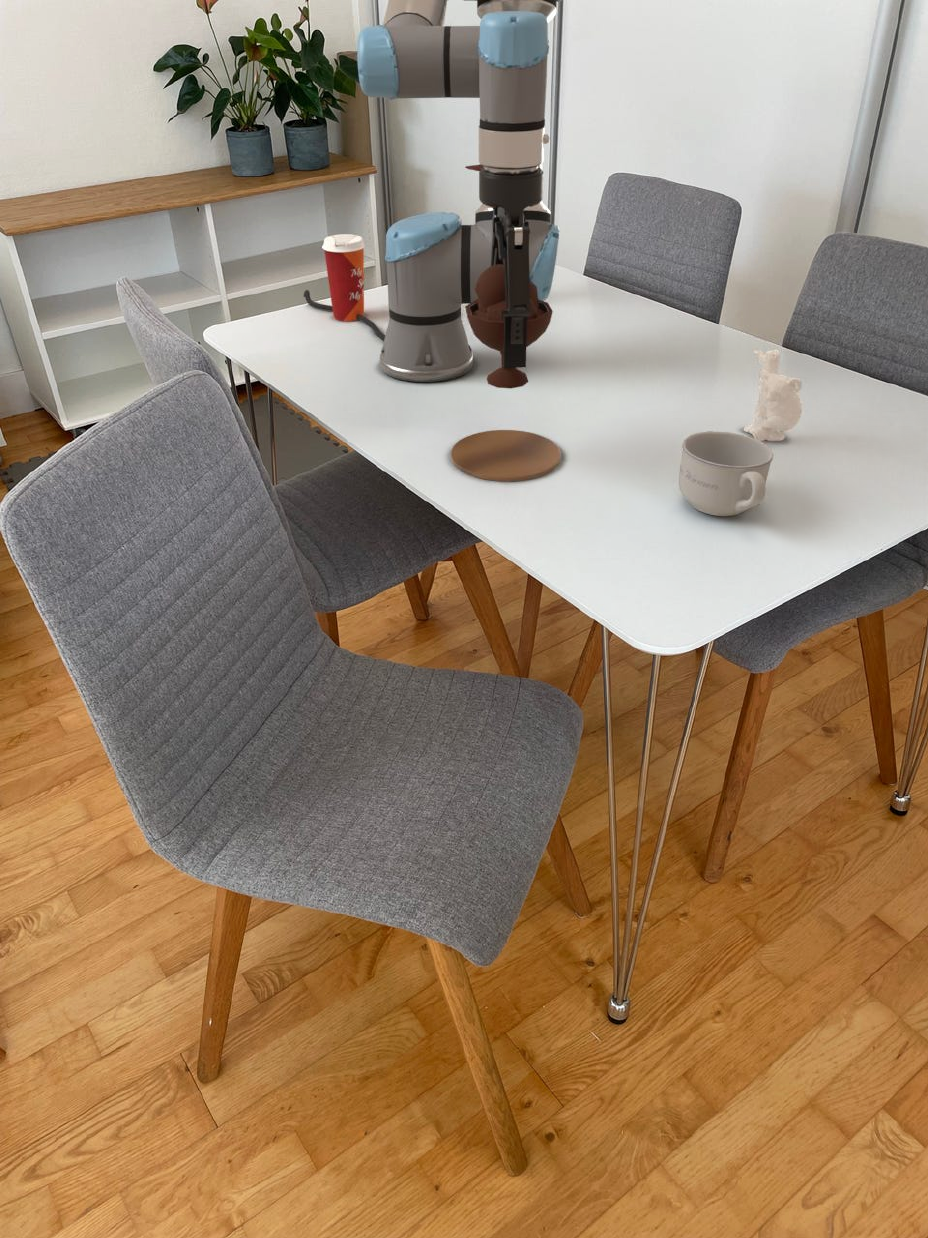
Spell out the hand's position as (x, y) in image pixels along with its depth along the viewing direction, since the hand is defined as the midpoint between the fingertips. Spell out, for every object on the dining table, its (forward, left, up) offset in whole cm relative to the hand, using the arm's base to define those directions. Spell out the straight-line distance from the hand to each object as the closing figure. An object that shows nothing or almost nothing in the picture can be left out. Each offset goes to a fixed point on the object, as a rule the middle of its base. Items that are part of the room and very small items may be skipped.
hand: (508, 350), depth 129 cm
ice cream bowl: (0, 0, -4) cm, 4 cm away
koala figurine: (+25, +28, -15) cm, 41 cm away
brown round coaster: (0, 0, -15) cm, 15 cm away
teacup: (+30, +5, -15) cm, 34 cm away
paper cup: (-59, +29, -15) cm, 68 cm away
